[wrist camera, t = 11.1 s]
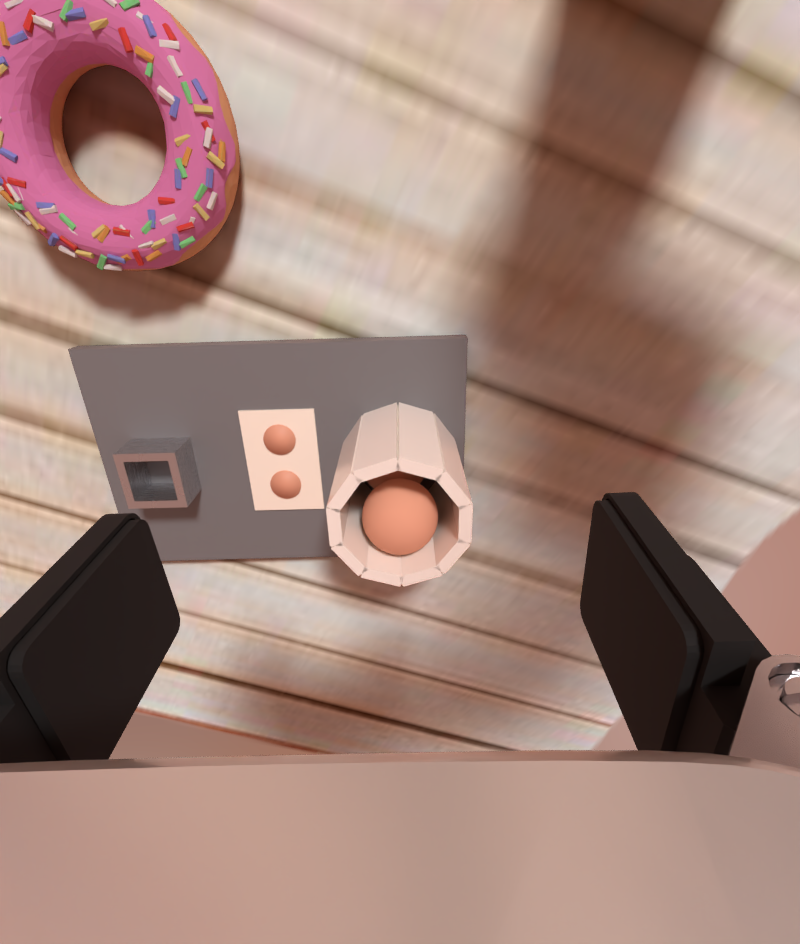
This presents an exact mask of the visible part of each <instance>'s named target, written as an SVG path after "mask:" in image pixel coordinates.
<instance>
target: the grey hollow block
mask: <svg viewBox="0 0 800 944" xmlns="http://www.w3.org/2000/svg"><path fill="white" fill-rule="evenodd" d="M112 455H113V458H114V461H115V465H116V468H117V472H118V475H119V478H120V482H121V485H122V488H123V492H124V495H125V498H126V502H127V505H128V509H140V508H179V507H188V506H189V505H190V503H191V502H192V501H193V499H194V498H195V497H196V496H197V494H198V493H199V492H200V490H201V489H202V488H201V483H200V479H199V474H198V470H197V465H196V461H195V456H194V451H193V447H192V442H191V438H190V437H176V438H139V439H132V440H130V441H129V442H128V443H126V444H125V445H124V446H123V447H121V448H120V449H119V450H118V451H116V452H115V453H114V454H112ZM147 461H168V463H169V467H170V471H171V475H172V479H173V483H152V480H151V476H150V472H149V469H148V465H147Z"/></svg>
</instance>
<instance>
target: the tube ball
mask: <svg viewBox="0 0 800 944" xmlns="http://www.w3.org/2000/svg"><path fill="white" fill-rule="evenodd" d="M397 478H403V479H409V480H413V481H415V482H417V483H419V484H420V483H421V482H422V480H423V479H424V477H421V476H417V475H413V474H410V473H406V472H402V471H395V472H392V473H389V474H386V475H382V476H379V477H376V478H373V479H370V480H367V482H368V484H369V485H370V486H372V487H373V488H375V487H377V486H378V485H379V484H381V483H383V482H385V481H387V480H391V479H397Z"/></svg>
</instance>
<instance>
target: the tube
mask: <svg viewBox="0 0 800 944" xmlns="http://www.w3.org/2000/svg"><path fill="white" fill-rule="evenodd" d="M395 471H402V472H406V473H410V474H413V475H417V476H421V477H425V478H429V479H432V480H436V481H435V483H434V484H433V485H432V487H431V488H430V489H429V490H428V491H429V492H430V494H431V495H432V497H433V498H434V500H435V503H436V506H437V510H438V523H437V528H436V531H435V533H434V535H433V537H432V538H431V540H430V541H429V542H428V543H427V544H426V545H425V546H424V547H423V548H421V549H419V550H418V551H416V552H413V553H410V554H406V555H395V554H390V553H387V552H385V551H382V550H381V549H379V548H377V547H376V546H375V545H374V544H373V543H372V542H371V541H370V539H369V538H368V537H367V535H366V533H365V530H364V528H363V523H362V510H363V506H364V503H365V501H366V498H367V497H368V495H369V494H370V492H371V490H370V488H369V487H368V486H367V485H366V484H365V483H364V481H367V480H370V479H373V478H376V477H379V476H382V475H386V474H389V473H392V472H395ZM326 515H327V524H328V534H329V544H330V546H331V549H332V550H333V551H334V552H335V553H336V554H337V555H338V556H339V557H340V558H341V559H342V560H343V561H344V562H345V563H346V564H347V565H348V566H349V567H350V568H351V569H352V570H353V571H354V572H355V573H356V574H357V576H359V575H361V578H365V579H369V580H373V581H377V582H382V583H386V584H390V585H394V586H399V587H401V584H402V585H403V587H404V586H408V585H411V584H415V583H418V582H422V581H425V580H429V579H432V578H436V577H439V576H442V573H444V574H445V573H446V572H447V571H448V570H449V569H450V568H451V567H452V565H453V564H454V563H455V562H456V561H457V560H458V559H459V558H460V556H461V555H462V554H463V553H464V552H465V551H466V550H467V549H468V547H469V546H470V543H471V541H472V516H473V504H472V500H471V496H470V493H469V489H468V485H467V482H466V478H465V474H464V471H463V467H462V463H461V460H460V456H459V452H458V449H457V445H456V441H455V439H454V437H453V436H452V435H451V433H450V432H449V431H448V430H447V428H446V427H445V426H444V424H443V423H442V422H441V421H440V419H439V418H438V417H437V415H436V414H435V413H434V414H433V412H432V411H428V410H425V409H421V408H418V407H414V406H410V405H407V404H403V403H400V402H399V404H398V405H397V402H396V403H393V404H390V405H387V406H384V407H382V408H379V409H376V410H373V411H370V412H367V413H364V414H363V416H362V415H361V417H360V418H359V420H358V421H357V423H356V424H355V426H354V427H353V428H352V430H351V431H350V433H349V434H348V436H347V437H346V439H345V440H344V442H343V445H342V449H341V453H340V457H339V460H338V464H337V468H336V472H335V476H334V480H333V484H332V487H331V491H330V495H329V499H328V503H327V507H326Z"/></svg>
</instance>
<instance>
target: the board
mask: <svg viewBox="0 0 800 944" xmlns="http://www.w3.org/2000/svg"><path fill="white" fill-rule="evenodd" d="M467 342H468V338H467V336H466V335H445V336H410V337H375V338H340V339H305V340H270V341H236V342H201V343H166V344H131V345H96V346H77V347H74V348H71V349H68V351H69V354H70V357H71V361H72V364H73V367H74V370H75V374H76V377H77V380H78V383H79V387H80V390H81V393H82V396H83V400H84V403H85V406H86V409H87V413H88V416H89V419H90V422H91V425H92V429H93V432H94V435H95V438H96V442H97V445H98V448H99V451H100V455H101V458H102V461H103V464H104V468H105V471H106V474H107V477H108V481H109V484H110V487H111V490H112V494H113V497H114V500H115V503H116V507H117V510H118V513H119V514H123V513H135V514H137V515H138V516H139V517H140V519H143V520H145V521H146V522H147V523H148V525H149V527H150V530H151V533H152V536H153V539H154V542H155V545H156V548H157V551H158V554H159V557H160V559H161V561H173V560H213V559H253V558H293V557H333V556H338V555H337V554H336V553H335V552H334V551H333V550H332V549H331V546H330V544H329V534H328V524H327V515H326V507H327V503H328V499H329V495H330V491H331V487H332V484H333V480H334V476H335V472H336V468H337V464H338V460H339V457H340V453H341V449H342V445H343V442H344V440H345V439H346V437H347V436H348V434H349V433H350V431H351V430H352V428H353V427H354V426H355V424H356V423H357V421H358V420H359V418H360V417H361V415H362V416H363V414H364V413H367V412H370V411H373V410H376V409H379V408H382V407H384V406H387V405H390V404H393V403H396V402H397V405H398V404H399V402H400V403H403V404H407V405H410V406H414V407H418V408H421V409H425V410H428V411H432V412H433V414H434V413H435V414H436V415H437V417H438V418H439V419H440V421H441V422H442V423H443V424H444V426H445V427H446V428H447V430H448V431H449V432H450V433H451V435H452V436H453V437H454V439H455V441H456V445H457V449H458V452H459V456H460V460H461V463H462V467H463V471H464V443H465V409H466V375H467ZM176 437H190V438H191V442H192V447H193V451H194V456H195V461H196V465H197V470H198V474H199V479H200V483H201V488H202V489H201V490H200V492H199V493H198V494H197V496H196V497H195V498H194V499H193V501H192V502H191V503H190V505H189V506H188V507H179V508H140V509H128V505H127V502H126V498H125V495H124V492H123V488H122V485H121V482H120V478H119V475H118V472H117V468H116V465H115V461H114V458H113V455H112V454H114V453H115V452H116V451H118V450H119V449H120V448H121V447H123V446H124V445H125V444H126V443H128V442H129V441H130V440H132V439H139V438H176ZM147 465H148V469H149V472H150V476H151V480H152V483H173V479H172V475H171V471H170V467H169V463H168V461H147ZM435 481H436V480H432V479H429V478H425V477H424V479H423V480H422V482H421V483H420V484H421V485H422V486H423V487H425V488H426V489H427V490H429V489H430V488H431V487H432V485H433V484H434V483H435ZM364 483H365V484H366V485H367V486H368V487H369V488H370V490H371V491H372V490H373V489H374V488H373V487H372V486H370V485H369V484H368V482H367V481H364Z"/></svg>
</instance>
